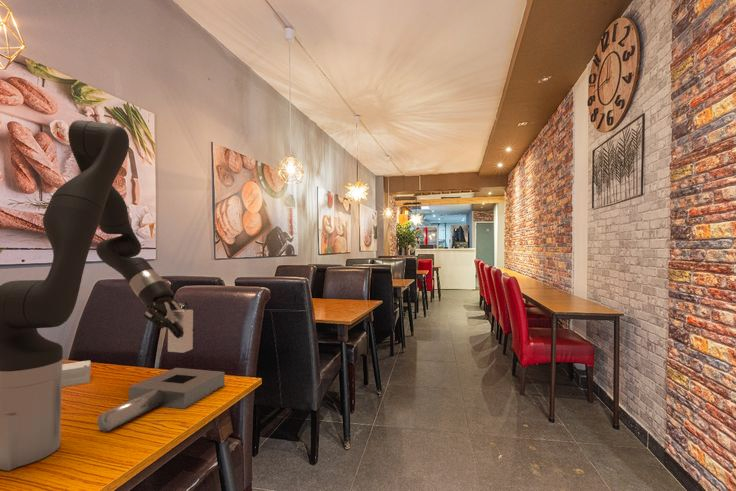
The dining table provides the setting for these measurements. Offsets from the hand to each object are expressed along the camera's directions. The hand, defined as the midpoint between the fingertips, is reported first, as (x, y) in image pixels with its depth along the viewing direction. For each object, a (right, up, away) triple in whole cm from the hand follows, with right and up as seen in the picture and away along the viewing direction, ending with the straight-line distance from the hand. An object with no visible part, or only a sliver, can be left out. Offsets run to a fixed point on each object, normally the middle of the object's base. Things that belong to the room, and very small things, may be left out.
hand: (186, 334), depth 93 cm
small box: (-39, -17, +9) cm, 44 cm away
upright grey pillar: (-2, -5, 0) cm, 5 cm away
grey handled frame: (-3, -16, -7) cm, 18 cm away
